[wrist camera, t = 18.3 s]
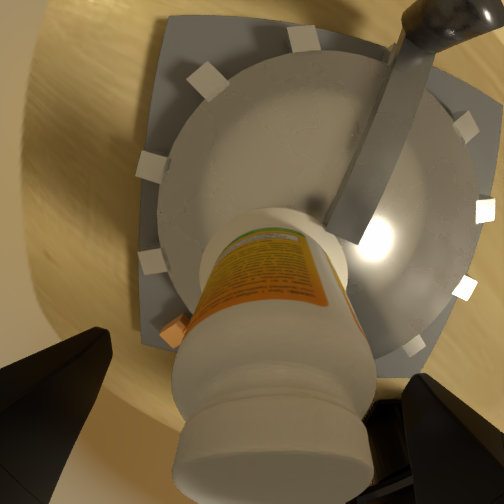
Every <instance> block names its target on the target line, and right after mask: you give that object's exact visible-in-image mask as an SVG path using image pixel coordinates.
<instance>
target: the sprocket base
mask: <svg viewBox="0 0 504 504" xmlns="http://www.w3.org/2000/svg"><path fill="white" fill-rule="evenodd" d="M295 26H305V25H300V24H294V23H288V22H282V21H275V20H267V19H259V18H248V17H236V16H215V15H181V16H169V18H168V22H167V26H166V30H165V34H164V38H163V42H162V47H161V51H160V56H159V61H158V66H157V71H156V76H155V81H154V87H153V93H152V99H151V105H150V112H149V119H148V126H147V134H146V143H145V150H151V149H152V150H156V151H159V152H163V153H166V154H169V153H170V151H171V149H172V146H173V144H174V142H175V140H176V138H177V136H178V135H179V133H180V131H181V130H182V128H183V126H184V125H185V123H186V121H187V120H188V119H189V117H190V116H191V115H192V114H193V112H194V111H195V110H196V109H197V108H198V106H199V105H200V104H201V103H202V102H203V101H204V100H205V98H204V97H203V96H202V95H201V94H200V93H199V92H198V91H197V90H196V89H195V88H194V87H193V86H192V85H191V84H190V83H189V82H188V81H187V80H186V79H187V78H188V77H189V76H190V75H192V74H193V73H194V72H195V71H196V70H197V69H198V68H200V67H201V66H202V65H203V64H204V63H206V62H207V61H208V62H209V63H210V64H211V65H212V66H213V67H214V68H215V69H216V70H218V71H219V72H220V73H221V74H222V75H223V76H224V77H225V79H226V80H229V79H230V78H232V77H233V76H235V75H236V74H238V73H239V72H241V71H243V70H245V69H247V68H249V67H251V66H253V65H255V64H258V63H260V62H262V61H264V60H267V59H271V58H274V57H277V56H281V55H285V54H288V53H289V49H288V45H287V41H286V37H285V35H286V28H287V27H295ZM315 29H316V32H317V36H318V40H319V43H320V47H321V50H330V51H342V52H348V53H353V54H359V55H363V56H366V57H369V58H372V59H375V60H378V61H382V58H383V55H384V52H385V49H387V48H386V47H384V46H381V45H378V44H375V43H372V42H369V41H365V40H362V39H359V38H355V37H352V36H348V35H344V34H341V33H337V32H333V31H329V30H324V29H320V28H315ZM425 89H426V90H427V91H428V92H429V93H430V94H431V95H432V96H433V97H434V98H435V99H436V100H437V101H438V102H439V103H440V104H441V105H442V106H443V108H444V109H445V110H446V111H447V113H448V114H449V115H450V116H451V115H452V114H453V113H455V112H456V111H466V110H469V112H470V114H471V115H472V117H473V119H474V121H475V123H476V125H477V127H478V129H479V131H480V132H478V133H477V134H476V135H475V136H474V137H473V138H472V139H471V140H470V141H469V142H467V143H466V146H467V148H468V150H469V153H470V155H471V158H472V162H473V166H474V169H475V173H476V177H477V184H478V192H479V194H484V195H487V196H490V194H491V190H492V185H493V180H494V175H495V169H496V163H497V157H498V150H499V142H500V133H501V123H502V109H503V105H502V104H500V103H499V102H497V101H495V100H494V99H492V98H491V97H489V96H487V95H486V94H484V93H483V92H481V91H479V90H477V89H476V88H474V87H472V86H470V85H469V84H467V83H465V82H463V81H461V80H459V79H458V78H456V77H454V76H452V75H450V74H448V73H446V72H444V71H442V70H440V69H438V68H435V67H433V66H432V67H431V71H430V74H429V77H428V80H427V83H426V86H425ZM159 187H160V184H158V183H155V182H152V181H149V180H146V179H143V178H142V185H141V201H140V221H139V250H140V249H141V248H143V247H144V246H145V245H146V244H150V243H155V242H160V241H159V236H158V222H157V206H158V196H159ZM482 226H483V222H482V223H479V224H478V232H477V238H476V243H475V247H474V251H473V255H474V252H475V249H476V246H477V243H478V240H479V236H480V233H481V230H482ZM473 255H472V258H473ZM472 258H471V260H470V263H469V266H468V268H467V271H466V273H467V272H468V269H469V267H470V264H471V261H472ZM457 297H458V296H456V295H453V297H452V298H451V300H450V301H449V303H448V304H447V306H446V307H445V308H444V309H443V311H442V312H441V313H440V314H439V315H438V316H437V318H436V319H435V320H434V321H433V322H432V323H431V324H430V325H429V326H428V327H426V328H425V329H424V330H423V331H422V332H421V333H420V334H419V335H420V336H421V338H422V340H423V342H424V343H425V345H426V347H424V348H423V349H421V350H420V351H419V352H417V353H416V354H414V355H413V356H412V357H410V358H409V356H408V354H407V353H406V351H405V350H404V348H403V347H402V346H401V347H400V348H398V349H396V350H395V351H393V352H391V353H389V354H387V355H385V356H383V357H381V358H378V359H376V360H374V362H375V367H376V375H377V378H411V377H412V376H413V375H414V374H416V373H420V371H421V369H422V368H423V366H424V364H425V362H426V361H427V359H428V357H429V355H430V353H431V352H432V350H433V348H434V346H435V344H436V342H437V340H438V338H439V336H440V334H441V332H442V330H443V328H444V326H445V324H446V322H447V320H448V318H449V315H450V313H451V311H452V309H453V307H454V304H455V302H456V300H457ZM139 305H140V325H141V341H142V344H144V345H148V346H152V347H156V348H160V349H164V350H168V351H173V352H178V349H179V346H180V344H181V341H182V339H183V337H184V334H183V333H182V331H183V329H184V327H185V324H186V322H187V320H188V319H190V318H191V317H192V316H193V314H192V313H191V312H190V311H189V309H188V308H187V306H186V305H185V303H184V302H183V300H182V299H181V297H180V296H179V294H178V293H177V291H176V289H175V287H174V285H173V283H172V280H171V278H170V276H169V274H168V272H162V273H155V274H148V275H144V272H143V269H142V266H141V263H140V260H139Z"/></svg>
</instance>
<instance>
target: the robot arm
mask: <svg viewBox="0 0 504 504" xmlns="http://www.w3.org/2000/svg"><path fill="white" fill-rule="evenodd" d="M112 355H113V351H112V344H111V338H110V333H109V331H108V330H107V329H104V328H100V327H93V328H91V329H89V330H86V331H84V332H82V333H80V334H77V335H75V336H73V337H71V338H68V339H66V340H64V341H62V342H59V343H57V344H55V345H53V346H50V347H48V348H46V349H44V350H41V351H39V352H37V353H35V354H32V355H30V356H28V357H26V358H23V359H21V360H19V361H17V362H14V363H12V364H10V365H7V366H5V367H3V368H1V369H0V504H49V502H50V499H51V497H52V494H53V491H54V489H55V487H56V485H57V482H58V480H59V477H60V475H61V473H62V470H63V468H64V466H65V464H66V462H67V459H68V457H69V455H70V453H71V450H72V448H73V446H74V444H75V442H76V440H77V438H78V436H79V434H80V431H81V429H82V427H83V425H84V423H85V421H86V419H87V417H88V415H89V413H90V411H91V409H92V407H93V405H94V403H95V401H96V398H97V396H98V393H99V391H100V388H101V385H102V383H103V380H104V377H105V375H106V372H107V370H108V367H109V364H110V362H111V359H112ZM401 399H402V400H381V401H378V402H376V403H375V404H374V405H373V407H372V408H371V410H370V411H369V413H368V415H367V416H366V418H365V419H364V421H363V422H362V423H363V424H364V426H365V427H366V430H367V434H368V442H369V447H370V452H371V457H372V462H373V467H374V475H373V479H372V486H369V487H367V488H366V489H365V490H364V491H363V492H362V493H361V494H359V495H358V496H356V497H355V498H353V499H352V500H350V504H504V433H503V432H500V430H499V429H497V428H496V427H495V426H494V425H492V424H491V423H490V422H488V421H487V420H486V419H485V418H483V417H482V416H481V415H479V414H478V413H477V412H476V411H474V410H473V409H472V408H471V407H469V406H468V405H467V404H465V403H464V402H463V401H462V400H460V399H459V398H458V397H456V396H455V395H454V394H452V393H451V392H450V391H449V390H447V389H446V388H445V387H443V386H442V385H441V384H440V383H438V382H437V381H436V380H434V379H433V378H432V377H430V376H429V375H428V374H426V373H416V374H414V375H413V376H412V377H411V379H410V381H409V382H408V384H407V386H406V387H405V389H404V390H403V392H402V397H401Z"/></svg>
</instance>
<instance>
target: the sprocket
mask: <svg viewBox="0 0 504 504" xmlns="http://www.w3.org/2000/svg"><path fill="white" fill-rule="evenodd" d="M401 21H402V26H403V27H402V30H401V33H400V36H399V39H398V42H397V44H395V43H393V44H392V45H391V46H389V47H388V48H387V49H385V52H384V55H383V58H382V61H378V60H375V59H372V58H369V57H366V56H363V55H359V54H353V53H348V52H342V51H330V50H321V47H320V43H319V40H318V36H317V32H316V29H315V25H307V26H295V27H287V28H286V35H285V37H286V41H287V45H288V49H289V53H288V54H285V55H281V56H277V57H274V58H271V59H267V60H264V61H262V62H260V63H258V64H255V65H253V66H251V67H249V68H247V69H245V70H243V71H241V72H239V73H238V74H236V75H235V76H233V77H232V78H230V79H229V80H226V79H225V77H224V76H223V75H222V74H221V73H220V72H219V71H218V70H216V69H215V68H214V67H213V66H212V65H211V64H210V63H209V62H208V61H207V62H206V63H204V64H203V65H202V66H201V67H200V68H198V69H197V70H196V71H195V72H194V73H193V74H192V75H190V76H189V77H188V78H187V79H186V80H187V81H188V82H189V83H190V84H191V85H192V86H193V87H194V88H195V89H196V90H197V91H198V92H199V93H200V94H201V95H202V96H203V97H204V98H205V100H204V101H203V102H202V103H201V104H200V105H199V106H198V108H197V109H196V110H195V111H194V112H193V114H192V115H191V116H190V117H189V119H188V120H187V121H186V123H185V125H184V126H183V128H182V130H181V131H180V133H179V135H178V136H177V138H176V140H175V142H174V144H173V146H172V149H171V151H170V153H169V154H166V153H163V152H159V151H156V150H152V149H151V150H142V151H141V155H140V159H139V162H138V166H137V170H136V174H135V176H136V177H139V178H143V179H146V180H149V181H152V182H155V183H158V184H160V187H159V196H158V206H157V222H158V236H159V241H160V242H155V243H150V244H146V245H145V246H144V247H143V248H141V249H140V250H139V251H138V252H137V253H138V257H139V260H140V263H141V266H142V269H143V272H144V275H148V274H155V273H162V272H168V274H169V276H170V278H171V280H172V283H173V285H174V287H175V289H176V291H177V293H178V294H179V296H180V297H181V299H182V300H183V302H184V303H185V305H186V306H187V308H188V309H189V311H190V312H191V313H192V314H193V313H194V311H195V309H196V306H197V304H198V301H199V299H200V297H201V294H202V292H203V290H204V288H205V285H206V283H207V280H208V278H209V276H210V273H211V271H212V269H213V266H214V264H215V262H216V260H217V259H218V257H219V255H220V254H221V252H222V251H223V249H224V248H225V247H226V246H227V245H228V244H229V243H230V242H231V241H232V240H233V239H234V238H236V237H237V236H239V235H240V234H242V233H244V232H246V231H248V230H251V229H254V228H257V227H262V226H284V227H290V228H293V229H296V230H299V231H301V232H303V233H305V234H307V235H308V236H310V237H311V238H313V239H314V240H315V241H316V242H317V243H318V244H319V245H320V246H321V247H322V248H323V249H324V251H325V252H326V254H327V255H328V257H329V258H330V260H331V262H332V264H333V266H334V268H335V270H336V272H337V274H338V277H339V279H340V281H341V283H342V285H343V287H344V290H345V292H346V294H347V296H348V299H349V301H350V303H351V305H352V307H353V310H354V312H355V314H356V316H357V319H358V321H359V323H360V325H361V328H362V330H363V332H364V334H365V336H366V339H367V341H368V344H369V346H370V349H371V352H372V355H373V358H374V360H376V359H378V358H381V357H383V356H385V355H387V354H389V353H391V352H393V351H395V350H396V349H398V348H400V347H401V346H402V347H403V348H404V350H405V351H406V353H407V354H408V356H409V358H410V357H412V356H413V355H414V354H416V353H417V352H419V351H420V350H421V349H423V348H424V347H426V345H425V343H424V342H423V340H422V338H421V336H420V335H419V334H420V333H421V332H422V331H423V330H424V329H425V328H426V327H428V326H429V325H430V324H431V323H432V322H433V321H434V320H435V319H436V318H437V316H438V315H439V314H440V313H441V312H442V311H443V309H444V308H445V307H446V306H447V304H448V303H449V301H450V300H451V298H452V297H453V295H456V296H458V297H461V298H463V299H465V300H468V298H469V296H470V294H471V293H472V291H473V289H474V287H475V285H476V284H477V282H476V281H475V280H474V279H473V278H471V277H470V276H469V275H468V274H467V273H466V271H467V268H468V266H469V263H470V260H471V258H472V255H473V251H474V247H475V243H476V238H477V232H478V224H479V223H482V222H488V221H494V218H495V198H492V197H490V196H487V195H484V194H479V192H478V184H477V177H476V173H475V169H474V166H473V162H472V158H471V155H470V153H469V150H468V148H467V146H466V143H467V142H469V141H470V140H471V139H472V138H473V137H474V136H475V135H476V134H477V133H478V132H480V131H479V129H478V127H477V125H476V123H475V121H474V119H473V117H472V115H471V114H470V112H469V110H466V111H456V112H455V113H453V114H452V115H451V116H450V115H449V114H448V113H447V111H446V110H445V109H444V108H443V106H442V105H441V104H440V103H439V102H438V101H437V100H436V99H435V98H434V97H433V96H432V95H431V94H430V93H429V92H428V91H427V90H426V89H425V86H426V83H427V80H428V77H429V74H430V71H431V67H432V64H433V61H434V57H435V54H436V53H438V52H441V51H443V50H445V49H448V48H450V47H452V46H455V45H457V44H459V43H462V42H464V41H467V40H469V39H472V38H474V37H477V36H479V35H482V34H484V33H487V32H490V31H492V30H495V29H498V28H501V27H503V26H504V6H503V4H502V2H501V0H417V1H415V2H414V3H413V4H412V5H411V6H410V7H409V8H407V9H406V10H405V11H404V12H403V14H402V19H401ZM191 318H192V317H191ZM191 318H190V319H188V320H187V322H186V324H185V327H184V329H183V331H182V333H183V334H184V335H185V332H186V330H187V328H188V325H189V323H190V320H191Z"/></svg>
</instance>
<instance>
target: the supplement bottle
mask: <svg viewBox="0 0 504 504" xmlns="http://www.w3.org/2000/svg"><path fill="white" fill-rule="evenodd" d="M376 383H377V375H376V367H375V362H374V358H373V355H372V352H371V349H370V346H369V344H368V341H367V339H366V336H365V334H364V332H363V330H362V328H361V325H360V323H359V321H358V319H357V316H356V314H355V312H354V310H353V307H352V305H351V303H350V301H349V299H348V296H347V294H346V292H345V290H344V287H343V285H342V283H341V281H340V279H339V277H338V274H337V272H336V270H335V268H334V266H333V264H332V262H331V260H330V258H329V257H328V255H327V254H326V252H325V251H324V249H323V248H322V247H321V246H320V245H319V244H318V243H317V242H316V241H315V240H314V239H313V238H311V237H310V236H308V235H307V234H305V233H303V232H301V231H299V230H296V229H293V228H290V227H284V226H262V227H257V228H254V229H251V230H248V231H246V232H244V233H242V234H240V235H239V236H237V237H236V238H234V239H233V240H232V241H231V242H230V243H229V244H228V245H227V246H226V247H225V248H224V249H223V251H222V252H221V254H220V255H219V257H218V259H217V260H216V262H215V264H214V266H213V269H212V271H211V273H210V276H209V278H208V280H207V283H206V285H205V288H204V290H203V292H202V294H201V297H200V299H199V301H198V304H197V306H196V309H195V311H194V313H193V316H192V318H191V320H190V323H189V325H188V328H187V330H186V332H185V335H184V337H183V339H182V341H181V344H180V346H179V349H178V352H177V355H176V358H175V361H174V365H173V370H172V394H173V398H174V401H175V403H176V406H177V408H178V410H179V412H180V414H181V415H182V417H183V418H184V420H185V421H186V423H185V426H184V428H183V430H182V432H181V434H180V439H179V443H178V447H177V451H176V455H175V460H174V464H173V468H172V479H173V482H174V484H175V486H176V487H177V488H178V489H179V490H180V492H182V493H183V494H184V495H185V496H187V497H189V498H190V499H192V500H194V501H195V502H198V503H199V504H343V503H346V502H348V501H350V500H352V499H353V498H355V497H356V496H358V495H359V494H361V493H362V492H363V491H364V490H365V489H366V488H367V487H368V486H369V485H370V483H371V481H372V479H373V475H374V467H373V462H372V457H371V452H370V447H369V442H368V434H367V430H366V427H365V426H364V424H363V423H362V421H361V420H362V418H363V417H364V416H365V414H366V413H367V411H368V409H369V407H370V405H371V403H372V401H373V398H374V395H375V390H376Z"/></svg>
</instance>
